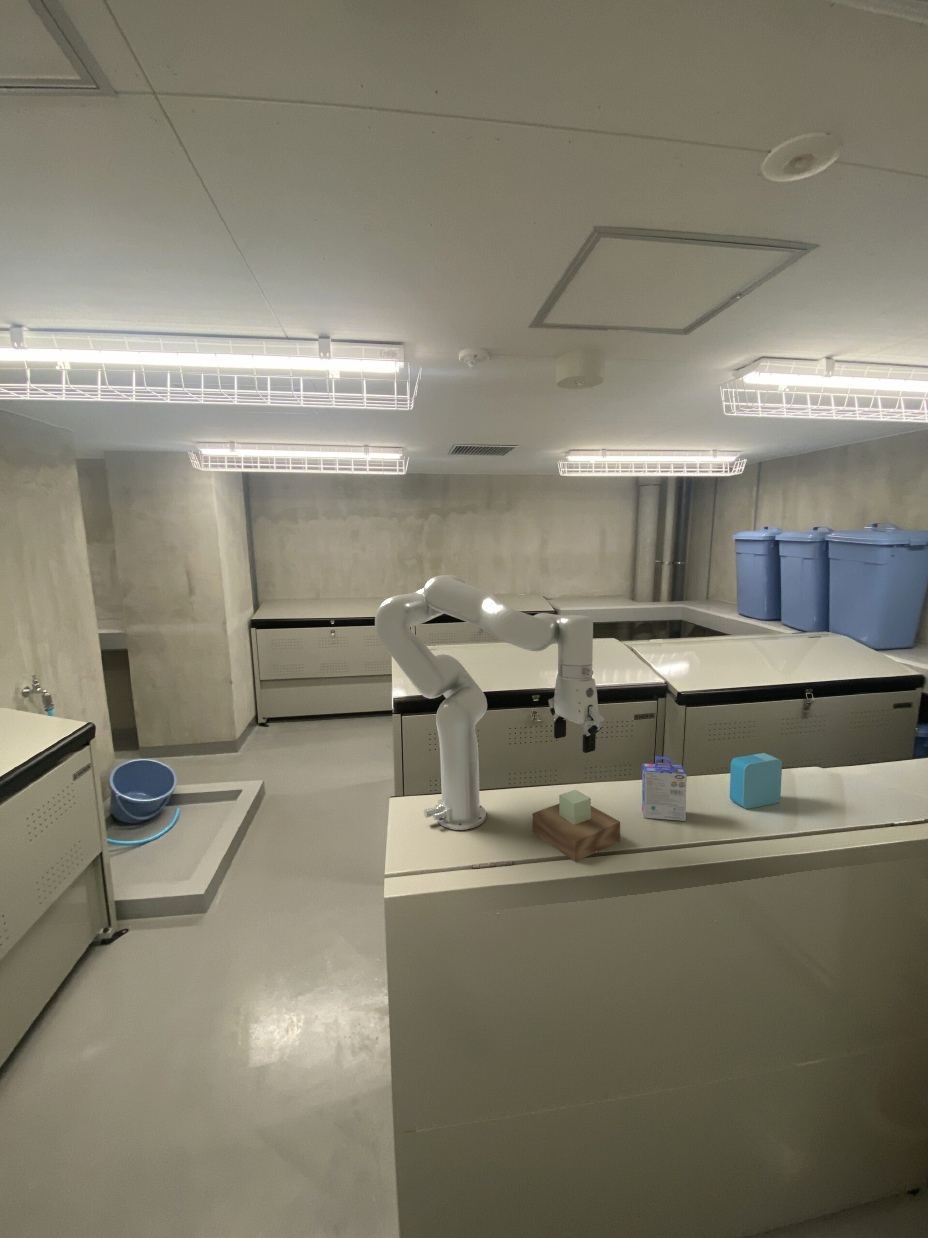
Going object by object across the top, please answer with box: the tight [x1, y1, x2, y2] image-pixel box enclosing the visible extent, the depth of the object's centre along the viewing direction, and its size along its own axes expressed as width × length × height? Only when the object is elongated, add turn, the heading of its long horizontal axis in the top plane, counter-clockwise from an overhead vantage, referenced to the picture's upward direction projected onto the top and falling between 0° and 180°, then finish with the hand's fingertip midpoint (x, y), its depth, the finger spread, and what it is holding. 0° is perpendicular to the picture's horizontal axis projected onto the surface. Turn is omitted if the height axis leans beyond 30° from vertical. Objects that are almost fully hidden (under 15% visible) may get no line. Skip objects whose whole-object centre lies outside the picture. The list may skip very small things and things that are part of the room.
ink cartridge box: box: [641, 755, 688, 822], centre depth 118 cm, size 10×6×14 cm, turn 78°
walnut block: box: [532, 803, 621, 863], centre depth 110 cm, size 14×14×5 cm
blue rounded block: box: [729, 752, 783, 810], centre depth 122 cm, size 12×4×12 cm, turn 105°
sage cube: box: [558, 789, 592, 825], centre depth 110 cm, size 5×5×5 cm
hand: (573, 744), depth 108 cm, fingers open, 9 cm apart
